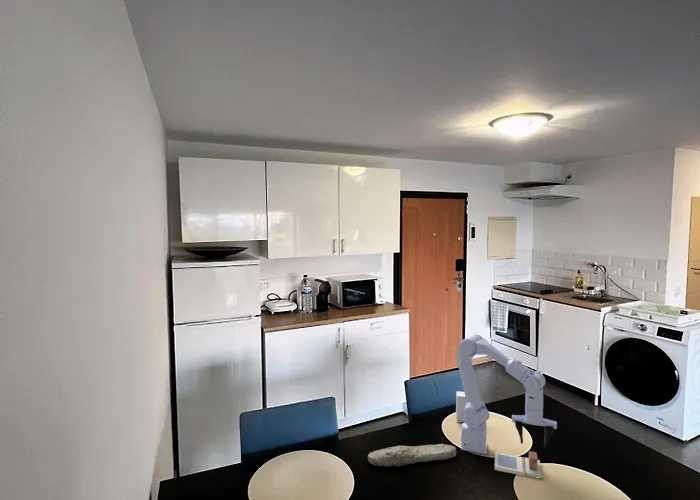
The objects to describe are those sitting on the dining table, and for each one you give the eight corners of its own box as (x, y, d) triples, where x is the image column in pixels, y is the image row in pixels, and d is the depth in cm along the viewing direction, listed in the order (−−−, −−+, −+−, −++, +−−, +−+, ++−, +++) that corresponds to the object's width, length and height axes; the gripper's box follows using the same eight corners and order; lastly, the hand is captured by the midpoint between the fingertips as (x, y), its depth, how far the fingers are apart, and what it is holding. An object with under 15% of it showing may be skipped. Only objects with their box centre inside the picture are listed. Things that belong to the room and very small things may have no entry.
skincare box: (466, 423, 176) (466, 397, 176) (456, 422, 177) (456, 396, 177) (465, 417, 182) (465, 391, 182) (455, 416, 183) (456, 391, 183)
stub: (525, 475, 138) (526, 461, 138) (524, 460, 147) (524, 446, 147) (541, 479, 136) (542, 464, 136) (539, 463, 145) (539, 449, 145)
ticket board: (494, 469, 142) (494, 466, 142) (495, 455, 151) (495, 451, 151) (525, 475, 138) (525, 472, 138) (523, 460, 147) (523, 457, 147)
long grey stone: (461, 464, 147) (449, 451, 157) (462, 450, 148) (450, 438, 157) (371, 470, 141) (364, 457, 150) (372, 455, 141) (365, 443, 150)
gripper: (555, 405, 142) (554, 442, 142) (511, 399, 147) (511, 435, 148) (557, 414, 135) (557, 452, 136) (512, 407, 141) (511, 444, 141)
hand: (533, 444), depth 141 cm, fingers open, 7 cm apart
